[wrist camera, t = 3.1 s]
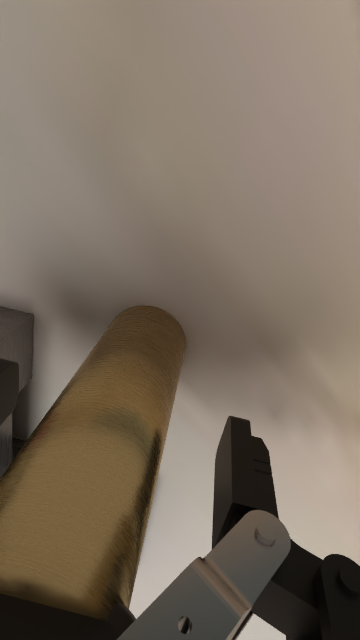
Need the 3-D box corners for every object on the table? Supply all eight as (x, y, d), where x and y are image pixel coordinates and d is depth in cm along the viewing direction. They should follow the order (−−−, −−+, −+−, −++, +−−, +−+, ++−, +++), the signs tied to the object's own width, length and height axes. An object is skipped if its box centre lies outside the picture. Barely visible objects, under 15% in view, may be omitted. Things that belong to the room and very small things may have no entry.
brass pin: (104, 365, 18) (-69, 652, 8) (113, 297, 17) (-93, 541, 6) (177, 382, 18) (106, 699, 8) (193, 316, 17) (133, 600, 6)
